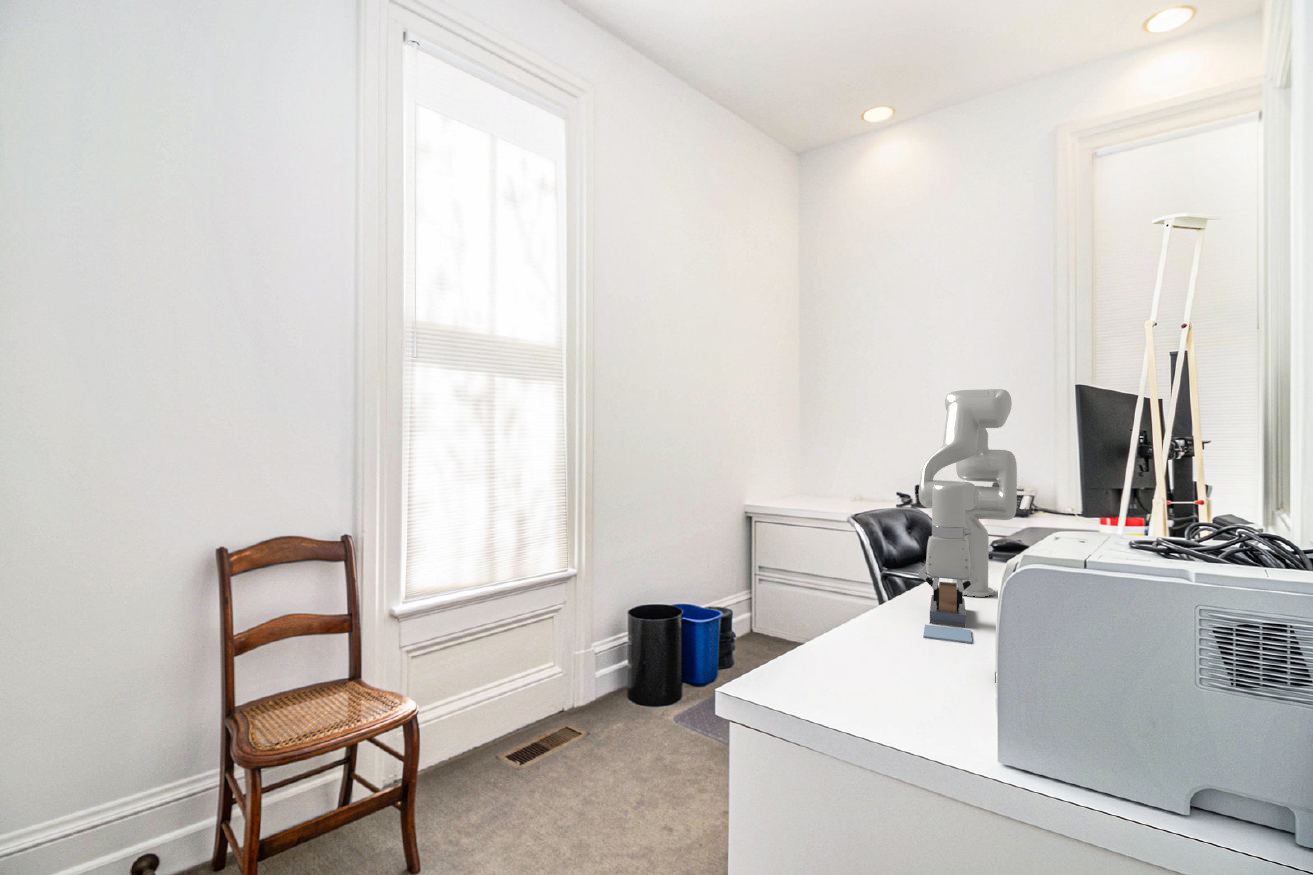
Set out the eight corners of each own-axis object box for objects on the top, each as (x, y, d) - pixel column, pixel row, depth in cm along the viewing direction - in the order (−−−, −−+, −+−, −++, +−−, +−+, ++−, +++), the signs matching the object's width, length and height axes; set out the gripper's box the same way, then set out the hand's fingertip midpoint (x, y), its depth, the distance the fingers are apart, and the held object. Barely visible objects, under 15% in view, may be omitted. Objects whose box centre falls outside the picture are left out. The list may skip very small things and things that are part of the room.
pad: (924, 626, 157) (924, 624, 157) (970, 631, 153) (970, 629, 153) (923, 637, 148) (923, 635, 148) (971, 643, 144) (971, 642, 144)
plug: (939, 616, 165) (939, 581, 165) (956, 618, 164) (956, 583, 164) (938, 620, 162) (939, 584, 162) (956, 622, 160) (956, 586, 160)
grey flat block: (931, 606, 176) (931, 595, 176) (964, 609, 173) (964, 598, 173) (929, 623, 160) (929, 611, 160) (965, 627, 156) (965, 615, 156)
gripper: (984, 533, 162) (984, 605, 162) (913, 528, 169) (912, 598, 169) (986, 537, 156) (985, 613, 156) (911, 532, 162) (911, 605, 163)
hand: (947, 604), depth 163 cm, fingers closed on plug, 4 cm apart
